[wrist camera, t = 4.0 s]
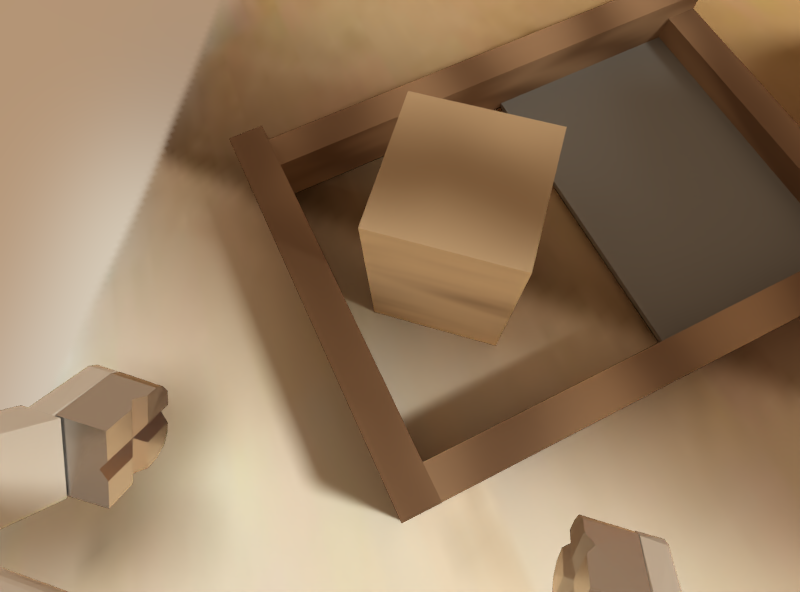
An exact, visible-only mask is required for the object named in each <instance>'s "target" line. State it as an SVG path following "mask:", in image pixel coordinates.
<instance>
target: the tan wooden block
mask: <svg viewBox="0 0 800 592" xmlns="http://www.w3.org/2000/svg"><path fill="white" fill-rule="evenodd" d="M566 128H567V127H565V126H560V125H556V124H552V123H547V122H543V121H538V120H534V119H530V118H525V117H521V116H516V115H512V114H508V113H503V112H499V111H494V110H490V109H486V108H481V107H477V106H472V105H468V104H464V103H459V102H455V101H450V100H446V99H442V98H437V97H433V96H428V95H424V94H420V93H415V92H411V91H408V92H407V95H406V98H405V101H404V103H403V106H402V109H401V112H400V114H399V117H398V120H397V122H396V125H395V128H394V131H393V133H392V136H391V139H390V142H389V144H388V147H387V150H386V153H385V155H384V158H383V161H382V164H381V166H380V169H379V172H378V175H377V177H376V180H375V183H374V185H373V188H372V191H371V194H370V196H369V199H368V202H367V205H366V207H365V210H364V213H363V216H362V218H361V221H360V224H359V227H358V230H359V235H360V241H361V246H362V251H363V256H364V261H365V266H366V271H367V276H368V281H369V287H370V292H371V297H372V302H373V307H374V312H377V313H380V314H384V315H388V316H391V317H395V318H398V319H402V320H405V321H409V322H413V323H416V324H420V325H423V326H427V327H431V328H434V329H438V330H441V331H445V332H448V333H452V334H456V335H459V336H463V337H466V338H470V339H474V340H477V341H481V342H484V343H488V344H491V345H495V346H496V344H497V342H498V340H499V338H500V336H501V334H502V332H503V330H504V328H505V326H506V324H507V322H508V320H509V318H510V316H511V314H512V312H513V310H514V308H515V306H516V304H517V302H518V300H519V298H520V296H521V294H522V292H523V290H524V288H525V286H526V284H527V282H528V280H529V278H530V276H531V274H532V271H533V266H534V262H535V258H536V254H537V250H538V245H539V241H540V237H541V233H542V229H543V224H544V220H545V216H546V212H547V208H548V203H549V199H550V195H551V191H552V187H553V182H554V178H555V174H556V170H557V166H558V161H559V157H560V153H561V149H562V145H563V140H564V136H565V132H566Z"/></svg>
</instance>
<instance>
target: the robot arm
mask: <svg viewBox="0 0 800 592" xmlns="http://www.w3.org/2000/svg"><path fill="white" fill-rule="evenodd" d="M167 405H168V393H167V390H166V389H165V388H164V387H163V386H160V385H157V384H154V383H151V382H148V381H145V380H142V379H139V378H137V377H134V376H131V375H128V374H125V373H122V372H117V371H114V370H111V369H108V368H105V367H102V366H99V365H92V366H88V367H86V368H85V369H84V370H82V371H81V372H79V373H78V374H76V375H75V376H73V377H72V378H70V379H69V380H68V381H66V382H65V383H63V384H62V385H60V386H59V387H57V388H56V389H54V390H53V391H52V392H50V393H49V394H47V395H46V396H44V397H43V398H41V399H40V400H38V401H37V402H36V403H34V404H33V405H31V406H30V407H25V406H21V405H20V406H16V407H12V408H8V409H4V410H0V529H3V528H5V527H7V526H9V525H11V524H13V523H15V522H18V521H20V520H22V519H24V518H26V517H28V516H30V515H33V514H35V513H37V512H39V511H41V510H43V509H45V508H47V507H50V506H52V505H54V504H56V503H58V502H60V501H62V500H65V499H67V496H70V497H73V498H76V499H80V500H83V501H86V502H89V503H93V504H96V505H99V506H102V507H106V508H110V507H111V506H112V505H113V504H114V503H115V502H116V501H117V500H118V499H119V498H120V497H121V496H122V495H123V494H124V493H125V492H126V491H127V490H128V488H129V487H130V486H131V485H132V484H133V473H136V472H139V471H141V470H144V469H147V468H148V467H149V466H150V465H151V464H152V463H153V462H154V461H155V459H156V458H157V457H158V455H159V453H160V451H161V449H162V447H163V446H164V443H165V439H166V435H167V424H168V423H167V421H166V419H165V418H164V416H163V414H162V413H161V411H162V410H163V409H164V408H165V407H166V406H167ZM570 538H571V543H570V544H568V545H566V546H564V547H562V549H561V552H560V554H559V557H558V559H557V563H556V567H555V571H554V576H553V587H552V592H682V591H681V587H680V584H679V580H678V577H677V573H676V570H675V566H674V562H673V559H672V555H671V552H670V548H669V544H668V543H667V542H666V541H665V539H662V538H658V537H655V536H651V535H648V534H644V533H641V532H637V531H635V532H634V531H632V530H629V529H625V528H622V527H619V526H615V525H612V524H609V523H605V522H602V521H599V520H595V519H592V518H589V517H586V516H582V515H578V516H577V518H576V519H575V520H574V522H573V524H572V527H571V529H570ZM0 592H68V591H65V590H62V589H59V588H57V587H54V586H51V585H48V584H46V583H43V582H40V581H37V580H35V579H32V578H29V577H26V576H24V575H21V574H18V573H15V572H13V571H10V570H7V569H4V568H2V567H0Z"/></svg>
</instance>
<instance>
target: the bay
mask: <svg viewBox="0 0 800 592" xmlns="http://www.w3.org/2000/svg"><path fill="white" fill-rule="evenodd" d="M697 1H698V0H613V1H611V2H608V3H606V4H603V5H601V6H598V7H596V8H593V9H591V10H589V11H586V12H584V13H581V14H579V15H576V16H574V17H571V18H569V19H566V20H564V21H561V22H559V23H556V24H554V25H551V26H549V27H546V28H544V29H541V30H539V31H536V32H534V33H531V34H529V35H526V36H524V37H521V38H519V39H517V40H514V41H512V42H509V43H507V44H504V45H502V46H499V47H497V48H494V49H492V50H489V51H487V52H484V53H482V54H479V55H477V56H474V57H472V58H469V59H467V60H464V61H462V62H459V63H457V64H454V65H452V66H449V67H447V68H445V69H442V70H440V71H437V72H435V73H432V74H430V75H427V76H425V77H422V78H420V79H417V80H415V81H412V82H410V83H407V84H405V85H402V86H400V87H397V88H395V89H392V90H390V91H387V92H385V93H382V94H380V95H377V96H375V97H373V98H370V99H368V100H365V101H363V102H360V103H358V104H355V105H353V106H350V107H348V108H345V109H343V110H340V111H338V112H335V113H333V114H330V115H328V116H325V117H323V118H320V119H318V120H315V121H313V122H310V123H308V124H305V125H303V126H301V127H298V128H296V129H293V130H291V131H288V132H286V133H283V134H281V135H278V136H276V137H273V138H271V139H268V138H267V136H266V133H265V131H264V129H263V127H262V126H260V127H257V128H255V129H252V130H250V131H247V132H245V133H242V134H240V135H237V136H235V137H232V138H230V139H229V140H230V142H231V144H232V146H233V148H234V151H235V153H236V155H237V157H238V160H239V162H240V164H241V166H242V169H243V171H244V173H245V175H246V177H247V180H248V182H249V184H250V186H251V189H252V191H253V193H254V195H255V197H256V200H257V202H258V204H259V206H260V209H261V211H262V213H263V215H264V218H265V220H266V222H267V224H268V226H269V229H270V231H271V233H272V235H273V238H274V240H275V242H276V244H277V247H278V249H279V251H280V253H281V255H282V258H283V260H284V262H285V264H286V267H287V269H288V271H289V273H290V276H291V278H292V280H293V282H294V284H295V287H296V289H297V291H298V293H299V296H300V298H301V300H302V302H303V305H304V307H305V309H306V311H307V313H308V316H309V318H310V320H311V322H312V325H313V327H314V329H315V331H316V334H317V336H318V338H319V340H320V342H321V345H322V347H323V349H324V351H325V354H326V356H327V358H328V360H329V363H330V365H331V367H332V369H333V371H334V374H335V376H336V378H337V380H338V383H339V385H340V387H341V389H342V392H343V394H344V396H345V398H346V400H347V403H348V405H349V407H350V409H351V412H352V414H353V416H354V418H355V421H356V423H357V425H358V427H359V429H360V432H361V434H362V436H363V438H364V441H365V443H366V445H367V447H368V450H369V452H370V454H371V456H372V458H373V461H374V463H375V465H376V467H377V470H378V472H379V474H380V476H381V479H382V481H383V483H384V485H385V487H386V490H387V492H388V494H389V496H390V499H391V501H392V503H393V505H394V508H395V510H396V512H397V514H398V516H399V519H400V521H401V523H403V522H405V521H407V520H409V519H411V518H413V517H415V516H417V515H419V514H421V513H422V512H424V511H426V510H428V509H430V508H432V507H434V506H436V505H438V504H440V503H442V502H443V501H445V500H447V499H449V498H451V497H453V496H455V495H457V494H458V493H460V492H462V491H464V490H466V489H468V488H470V487H472V486H474V485H476V484H478V483H480V482H482V481H484V480H485V479H487V478H489V477H491V476H493V475H495V474H497V473H499V472H501V471H503V470H505V469H507V468H509V467H510V466H512V465H514V464H516V463H518V462H520V461H522V460H524V459H526V458H528V457H530V456H532V455H534V454H535V453H537V452H539V451H541V450H543V449H545V448H547V447H549V446H551V445H553V444H555V443H557V442H559V441H561V440H562V439H564V438H566V437H568V436H570V435H572V434H574V433H576V432H578V431H580V430H582V429H584V428H586V427H587V426H589V425H591V424H593V423H595V422H597V421H599V420H601V419H603V418H605V417H607V416H609V415H611V414H612V413H614V412H616V411H618V410H620V409H622V408H624V407H626V406H628V405H630V404H632V403H634V402H636V401H638V400H639V399H641V398H643V397H645V396H647V395H649V394H651V393H653V392H655V391H657V390H659V389H661V388H663V387H664V386H666V385H668V384H670V383H672V382H674V381H676V380H678V379H680V378H682V377H684V376H686V375H688V374H689V373H691V372H693V371H695V370H697V369H699V368H701V367H703V366H705V365H707V364H709V363H711V362H713V361H715V360H716V359H718V358H720V357H722V356H724V355H726V354H728V353H730V352H732V351H734V350H736V349H738V348H740V347H741V346H743V345H745V344H747V343H749V342H751V341H753V340H755V339H757V338H759V337H761V336H763V335H765V334H767V333H768V332H770V331H772V330H774V329H776V328H778V327H780V326H782V325H784V324H786V323H788V322H790V321H792V320H793V319H795V318H797V317H799V316H800V127H799V126H798V124H797V123H796V122H795V121H794V120H793V119H792V118H791V117H790V116H789V114H788V113H787V112H786V111H785V110H784V109H783V108H782V107H781V106H780V104H779V103H778V102H777V101H776V100H775V99H774V98H773V97H772V96H771V94H770V93H769V92H768V91H767V90H766V89H765V88H764V87H763V86H762V84H761V83H760V82H759V81H758V80H757V79H756V78H755V77H754V76H753V74H752V73H751V72H750V71H749V70H748V69H747V68H746V67H745V66H744V64H743V63H742V62H741V61H740V60H739V59H738V58H737V57H736V56H735V54H734V53H733V52H732V51H731V50H730V49H729V48H728V47H727V46H726V44H725V43H724V42H723V41H722V40H721V39H720V38H719V37H718V36H717V34H716V33H715V32H714V31H713V30H712V29H711V28H710V27H709V26H708V24H707V23H706V22H705V21H704V20H703V19H702V18H701V17H700V16H699V14H698V13H697V12H696V11H695V10H694V9H693V8H694V6H695V4H696V2H697ZM408 91H411V92H415V93H420V94H424V95H428V96H433V97H437V98H442V99H446V100H450V101H455V102H459V103H464V104H468V105H472V106H477V107H481V108H486V109H490V110H495V109H497V108H499V107H500V108H501V109H502V111H503V112H504V113H508V114H512V115H516V116H521V117H525V118H530V119H534V120H538V121H543V122H547V123H552V124H556V125H560V126H565V127H567V128H566V132H565V136H564V140H563V145H562V149H561V153H560V157H559V161H558V166H557V170H556V174H555V178H554V182H553V186H554V188H555V189H556V191H557V192H558V193H559V195H560V196H561V198H562V199H563V201H564V202H565V204H566V205H567V207H568V208H569V210H570V211H571V213H572V214H573V216H574V217H575V219H576V220H577V222H578V223H579V225H580V226H581V228H582V229H583V230H584V232H585V233H586V235H587V236H588V238H589V239H590V241H591V242H592V244H593V245H594V247H595V248H596V250H597V251H598V253H599V254H600V256H601V257H602V259H603V260H604V262H605V263H606V265H607V266H608V267H609V269H610V270H611V272H612V273H613V275H614V276H615V278H616V279H617V281H618V282H619V284H620V285H621V287H622V288H623V290H624V291H625V293H626V294H627V296H628V297H629V299H630V300H631V302H632V303H633V304H634V306H635V307H636V309H637V310H638V312H639V313H640V315H641V316H642V318H643V319H644V321H645V322H646V324H647V325H648V327H649V328H650V330H651V331H652V333H653V334H654V336H655V337H656V339H657V340H658V342H659V343H657V344H655V345H653V346H651V347H649V348H647V349H645V350H643V351H641V352H639V353H637V354H635V355H633V356H631V357H629V358H627V359H625V360H624V361H622V362H620V363H618V364H616V365H614V366H612V367H610V368H608V369H606V370H604V371H602V372H600V373H598V374H596V375H594V376H592V377H590V378H588V379H586V380H584V381H582V382H580V383H578V384H576V385H574V386H572V387H570V388H568V389H566V390H564V391H562V392H560V393H558V394H556V395H554V396H552V397H550V398H548V399H546V400H544V401H542V402H541V403H539V404H537V405H535V406H533V407H531V408H529V409H527V410H525V411H523V412H521V413H519V414H517V415H515V416H513V417H511V418H509V419H507V420H505V421H503V422H501V423H499V424H497V425H495V426H493V427H491V428H489V429H487V430H485V431H483V432H481V433H479V434H477V435H475V436H473V437H471V438H469V439H467V440H465V441H463V442H461V443H460V444H458V445H456V446H454V447H452V448H450V449H448V450H446V451H444V452H442V453H440V454H438V455H436V456H434V457H432V458H430V459H428V460H426V461H424V462H422V459H421V457H420V455H419V453H418V451H417V449H416V447H415V445H414V443H413V441H412V439H411V436H410V434H409V432H408V430H407V428H406V426H405V424H404V422H403V420H402V418H401V416H400V413H399V411H398V409H397V407H396V405H395V403H394V401H393V399H392V397H391V395H390V393H389V390H388V388H387V386H386V384H385V382H384V380H383V378H382V376H381V374H380V372H379V370H378V367H377V365H376V363H375V361H374V359H373V357H372V355H371V353H370V351H369V349H368V347H367V345H366V342H365V340H364V338H363V336H362V334H361V332H360V330H359V328H358V326H357V324H356V322H355V319H354V317H353V315H352V313H351V311H350V309H349V307H348V305H347V303H346V301H345V299H344V296H343V294H342V292H341V290H340V288H339V286H338V284H337V282H336V280H335V278H334V276H333V273H332V271H331V269H330V267H329V265H328V263H327V261H326V259H325V257H324V255H323V253H322V250H321V248H320V246H319V244H318V242H317V240H316V238H315V236H314V234H313V232H312V230H311V227H310V225H309V223H308V221H307V219H306V217H305V215H304V213H303V211H302V209H301V207H300V205H299V202H298V200H297V198H296V196H295V194H294V193H297V192H299V191H302V190H304V189H306V188H309V187H311V186H314V185H316V184H318V183H321V182H323V181H325V180H328V179H330V178H333V177H335V176H337V175H340V174H342V173H344V172H347V171H349V170H352V169H354V168H356V167H359V166H361V165H364V164H366V163H368V162H371V161H373V160H375V159H378V158H380V157H383V156H384V155H385V153H386V150H387V147H388V144H389V142H390V139H391V136H392V133H393V131H394V128H395V125H396V122H397V120H398V117H399V114H400V112H401V109H402V106H403V103H404V101H405V98H406V95H407V92H408Z"/></svg>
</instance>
